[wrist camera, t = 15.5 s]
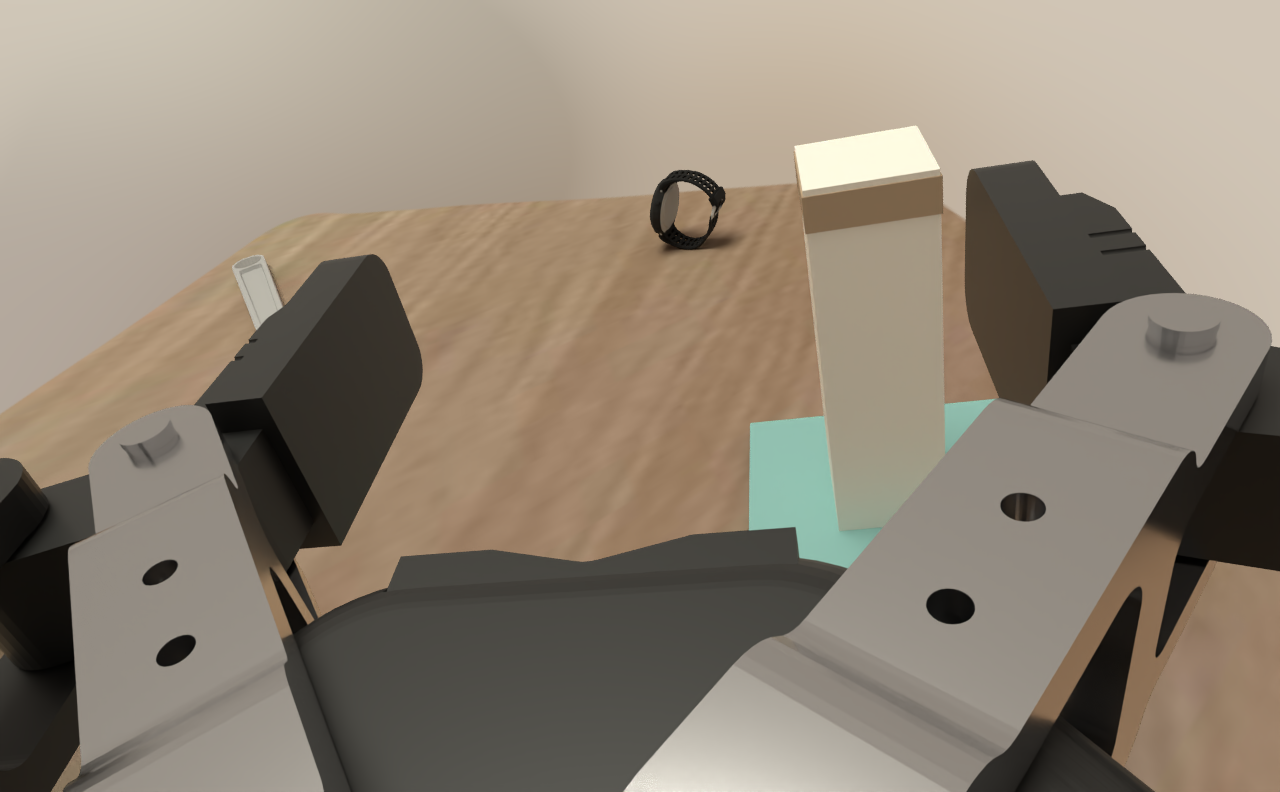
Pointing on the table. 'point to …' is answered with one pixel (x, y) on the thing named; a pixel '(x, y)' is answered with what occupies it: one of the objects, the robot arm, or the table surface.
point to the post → (876, 314)
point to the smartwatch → (667, 207)
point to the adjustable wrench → (257, 288)
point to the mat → (815, 483)
